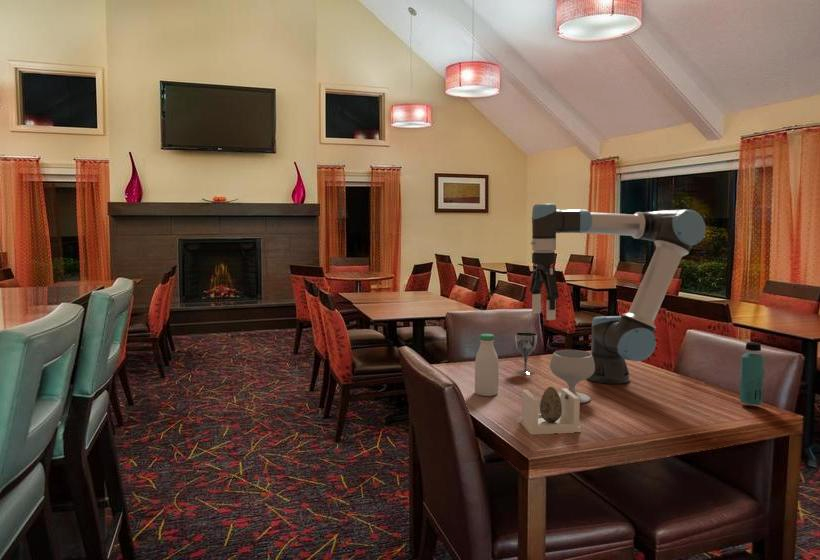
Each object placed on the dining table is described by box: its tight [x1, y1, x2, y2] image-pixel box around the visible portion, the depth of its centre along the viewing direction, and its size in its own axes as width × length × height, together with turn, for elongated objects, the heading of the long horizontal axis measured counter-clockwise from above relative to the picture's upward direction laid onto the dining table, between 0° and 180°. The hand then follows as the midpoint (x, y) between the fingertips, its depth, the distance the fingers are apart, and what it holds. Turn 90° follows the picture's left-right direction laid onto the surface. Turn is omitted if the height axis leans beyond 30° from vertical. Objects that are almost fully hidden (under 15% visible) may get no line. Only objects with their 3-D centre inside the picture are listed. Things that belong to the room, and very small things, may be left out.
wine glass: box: [514, 331, 538, 376], centre depth 225 cm, size 8×8×15 cm
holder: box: [519, 387, 582, 436], centre depth 166 cm, size 14×10×10 cm
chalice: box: [549, 349, 595, 404], centre depth 192 cm, size 14×14×15 cm
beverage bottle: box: [738, 341, 765, 406], centre depth 183 cm, size 6×7×20 cm
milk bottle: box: [474, 333, 499, 397], centre depth 198 cm, size 8×8×20 cm
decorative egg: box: [539, 386, 562, 423], centre depth 166 cm, size 6×6×10 cm
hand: (543, 316), depth 195 cm, fingers open, 13 cm apart
